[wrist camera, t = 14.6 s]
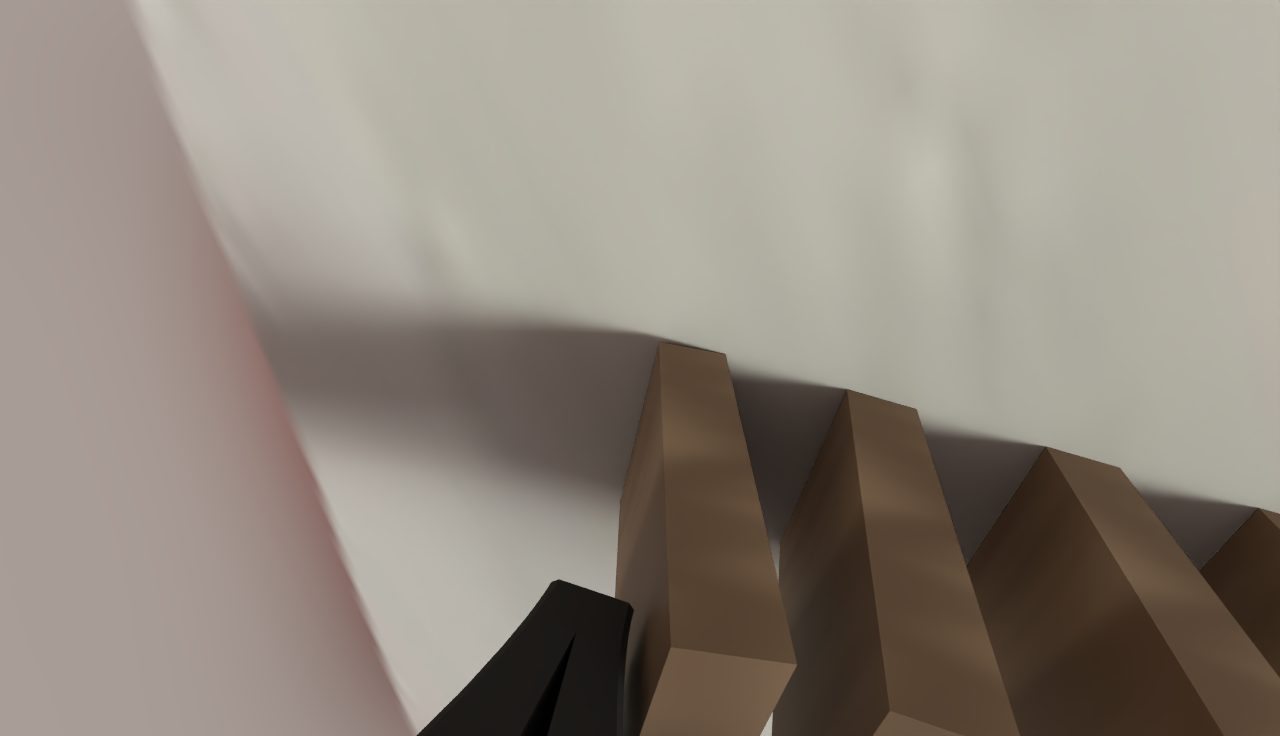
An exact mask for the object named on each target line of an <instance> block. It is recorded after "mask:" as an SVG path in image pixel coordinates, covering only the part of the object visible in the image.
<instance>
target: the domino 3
mask: <svg viewBox="0 0 1280 736" xmlns="http://www.w3.org/2000/svg"><path fill="white" fill-rule="evenodd" d="M967 570H968V573H969V576H970V580H971V583H972V586H973V589H974V592H975V595H976V598H977V602H978V605H979V608H980V611H981V614H982V617H983V621H984V624H985V627H986V630H987V633H988V636H989V639H990V643H991V646H992V649H993V652H994V655H995V658H996V661H997V665H998V668H999V671H1000V674H1001V677H1002V680H1003V684H1004V687H1005V690H1006V693H1007V696H1008V699H1009V702H1010V706H1011V709H1012V712H1013V715H1014V718H1015V721H1016V724H1017V728H1018V731H1019V734H1020V736H1280V678H1279V676H1278V675H1277V674H1276V672H1275V671H1274V670H1273V668H1272V667H1271V666H1270V664H1269V663H1268V662H1267V661H1266V659H1265V658H1264V657H1263V655H1262V654H1261V653H1260V651H1259V650H1258V649H1257V647H1256V646H1255V645H1254V643H1253V642H1252V641H1251V640H1250V638H1249V637H1248V636H1247V634H1246V633H1245V632H1244V630H1243V629H1242V628H1241V626H1240V625H1239V624H1238V622H1237V621H1236V620H1235V618H1234V617H1233V616H1232V615H1231V613H1230V612H1229V611H1228V609H1227V608H1226V607H1225V605H1224V604H1223V603H1222V601H1221V600H1220V599H1219V597H1218V596H1217V595H1216V593H1215V592H1214V591H1213V590H1212V588H1211V587H1210V586H1209V584H1208V583H1207V582H1206V580H1205V579H1204V578H1203V576H1202V575H1201V574H1200V572H1199V571H1198V570H1197V569H1196V567H1195V566H1194V565H1193V563H1192V562H1191V561H1190V559H1189V558H1188V557H1187V555H1186V554H1185V553H1184V551H1183V550H1182V549H1181V547H1180V546H1179V545H1178V544H1177V542H1176V541H1175V540H1174V538H1173V537H1172V536H1171V534H1170V533H1169V532H1168V530H1167V529H1166V528H1165V526H1164V525H1163V524H1162V523H1161V521H1160V520H1159V519H1158V517H1157V516H1156V515H1155V513H1154V512H1153V511H1152V509H1151V508H1150V507H1149V505H1148V504H1147V503H1146V501H1145V500H1144V499H1143V498H1142V496H1141V495H1140V494H1139V492H1138V491H1137V490H1136V488H1135V487H1134V486H1133V484H1132V483H1131V482H1130V480H1129V479H1128V478H1127V477H1126V475H1125V474H1124V473H1123V471H1122V470H1121V469H1120V468H1118V467H1115V466H1111V465H1108V464H1104V463H1101V462H1097V461H1094V460H1090V459H1087V458H1083V457H1080V456H1077V455H1073V454H1070V453H1066V452H1063V451H1059V450H1056V449H1052V448H1049V447H1046V448H1045V449H1044V451H1043V452H1042V454H1041V455H1040V457H1039V458H1038V460H1037V461H1036V463H1035V464H1034V466H1033V467H1032V469H1031V470H1030V472H1029V473H1028V475H1027V476H1026V478H1025V479H1024V481H1023V482H1022V484H1021V485H1020V487H1019V488H1018V490H1017V491H1016V493H1015V494H1014V496H1013V497H1012V499H1011V500H1010V502H1009V503H1008V505H1007V507H1006V508H1005V510H1004V511H1003V513H1002V514H1001V516H1000V517H999V519H998V520H997V522H996V523H995V525H994V526H993V528H992V529H991V531H990V532H989V534H988V535H987V537H986V538H985V540H984V541H983V543H982V544H981V546H980V547H979V549H978V550H977V552H976V553H975V555H974V556H973V558H972V559H971V561H970V562H969V564H968V565H967Z"/></svg>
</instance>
